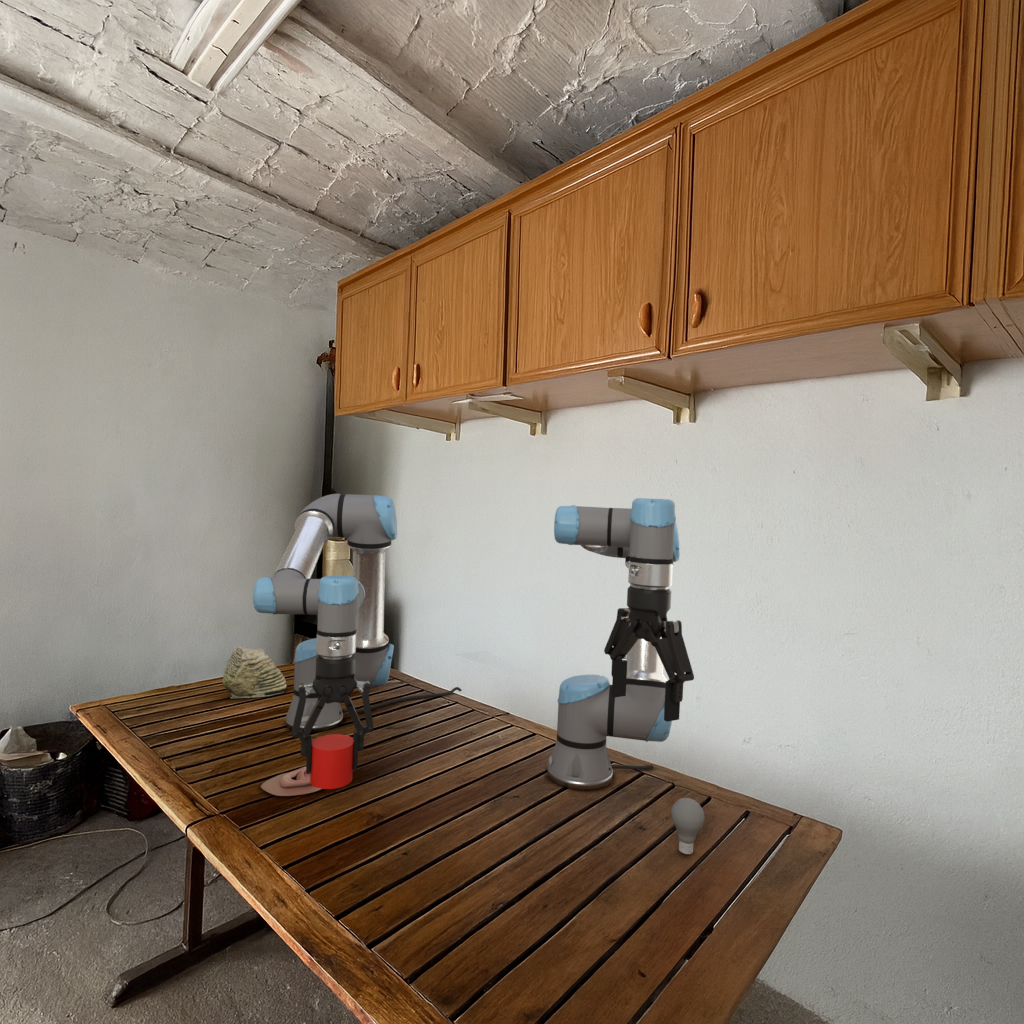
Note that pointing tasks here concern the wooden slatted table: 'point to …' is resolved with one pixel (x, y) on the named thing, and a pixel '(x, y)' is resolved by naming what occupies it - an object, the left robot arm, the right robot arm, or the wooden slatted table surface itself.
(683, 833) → the light bulb
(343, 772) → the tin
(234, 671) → the fossil
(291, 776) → the anatomical model
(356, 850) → the wooden slatted table surface
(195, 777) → the wooden slatted table surface
